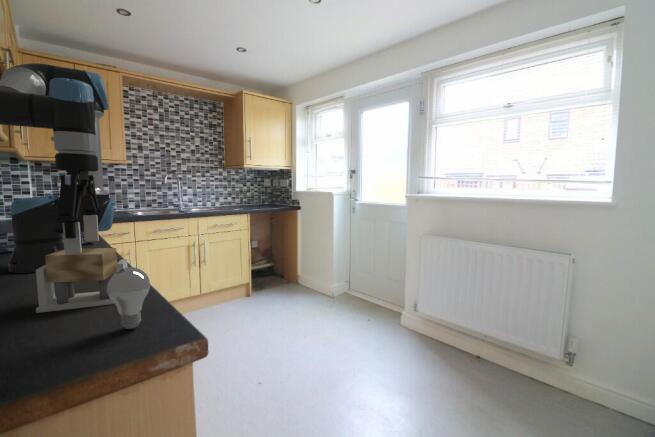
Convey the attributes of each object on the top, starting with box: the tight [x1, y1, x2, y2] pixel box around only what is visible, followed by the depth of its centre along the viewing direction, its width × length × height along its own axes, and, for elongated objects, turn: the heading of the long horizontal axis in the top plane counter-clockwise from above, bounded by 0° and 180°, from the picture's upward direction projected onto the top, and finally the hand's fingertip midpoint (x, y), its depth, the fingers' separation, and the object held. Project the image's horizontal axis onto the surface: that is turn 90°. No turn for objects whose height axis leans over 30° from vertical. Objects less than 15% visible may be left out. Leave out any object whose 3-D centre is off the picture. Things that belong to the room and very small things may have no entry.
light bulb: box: [107, 266, 151, 331], centre depth 60 cm, size 7×7×12 cm
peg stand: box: [35, 258, 128, 314], centre depth 74 cm, size 8×16×9 cm, turn 113°
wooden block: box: [45, 247, 118, 283], centre depth 73 cm, size 11×7×6 cm, turn 101°
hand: (83, 246), depth 73 cm, fingers open, 13 cm apart
